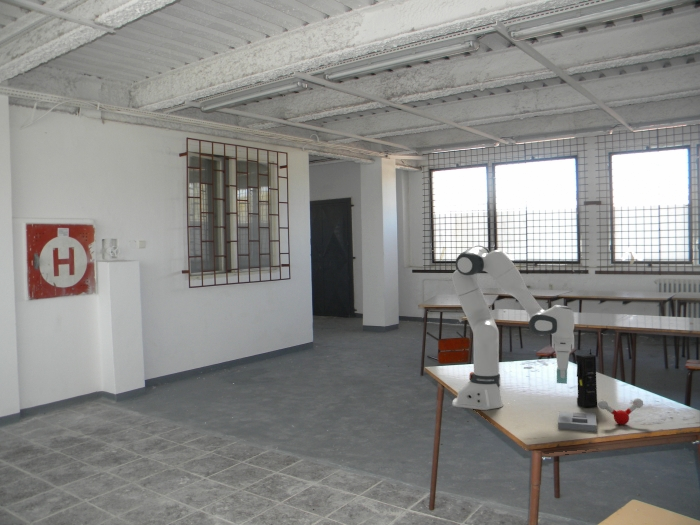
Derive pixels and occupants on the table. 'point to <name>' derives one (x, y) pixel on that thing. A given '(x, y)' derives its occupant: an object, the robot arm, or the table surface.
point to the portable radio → (586, 380)
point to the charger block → (561, 380)
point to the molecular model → (620, 415)
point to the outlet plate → (577, 421)
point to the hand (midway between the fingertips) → (562, 376)
